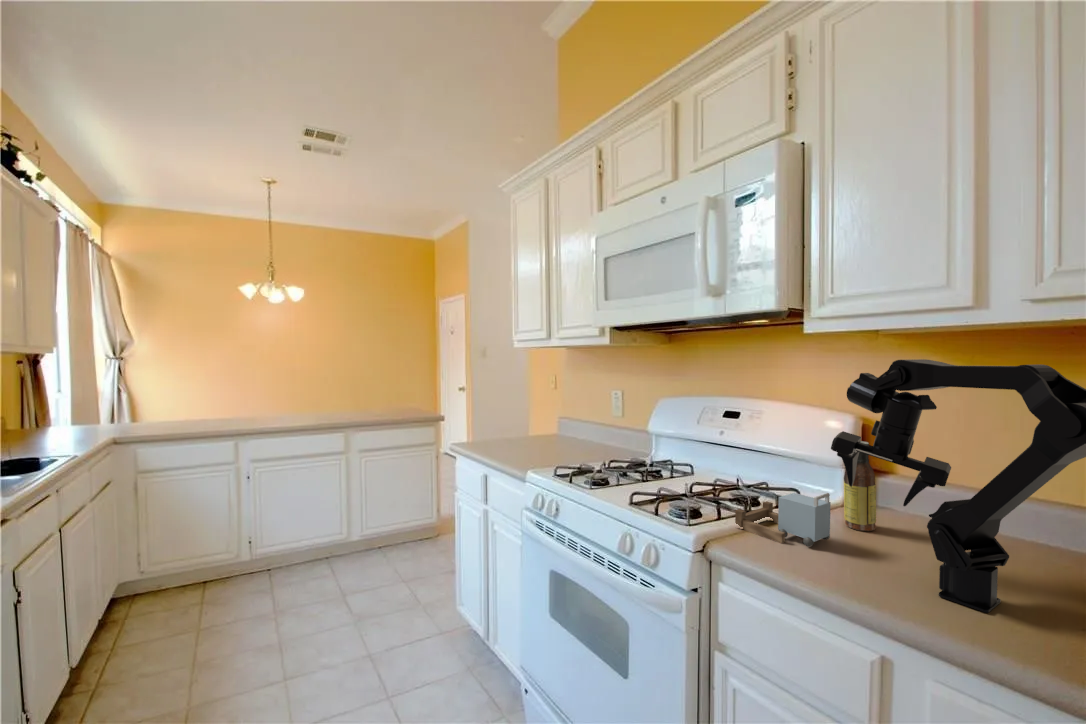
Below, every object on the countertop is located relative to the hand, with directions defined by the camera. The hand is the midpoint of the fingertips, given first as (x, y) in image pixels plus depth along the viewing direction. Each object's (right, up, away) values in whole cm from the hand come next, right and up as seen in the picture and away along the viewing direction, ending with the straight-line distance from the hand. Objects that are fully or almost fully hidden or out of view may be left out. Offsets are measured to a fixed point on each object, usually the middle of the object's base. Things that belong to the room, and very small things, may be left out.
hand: (877, 495), depth 99 cm
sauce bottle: (+7, -12, +16) cm, 21 cm away
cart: (-10, -12, +9) cm, 18 cm away
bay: (-14, -12, +15) cm, 24 cm away
